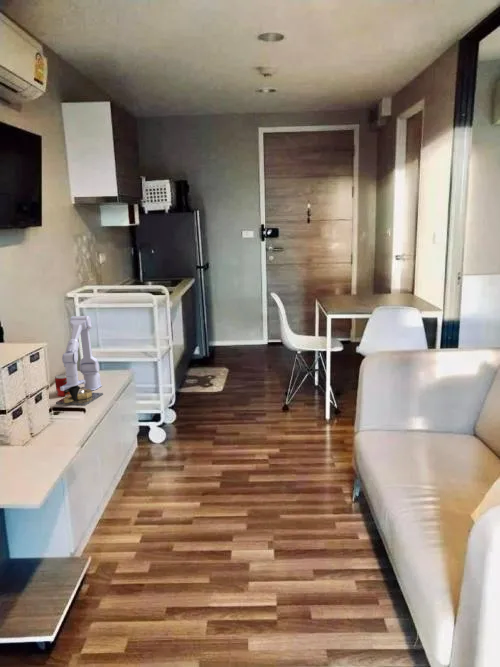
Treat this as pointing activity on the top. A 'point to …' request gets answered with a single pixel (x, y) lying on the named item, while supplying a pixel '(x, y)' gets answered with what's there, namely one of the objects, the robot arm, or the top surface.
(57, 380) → the canned food
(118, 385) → the top surface
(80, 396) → the handled octagonal ring
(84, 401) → the flange plate
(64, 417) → the top surface
